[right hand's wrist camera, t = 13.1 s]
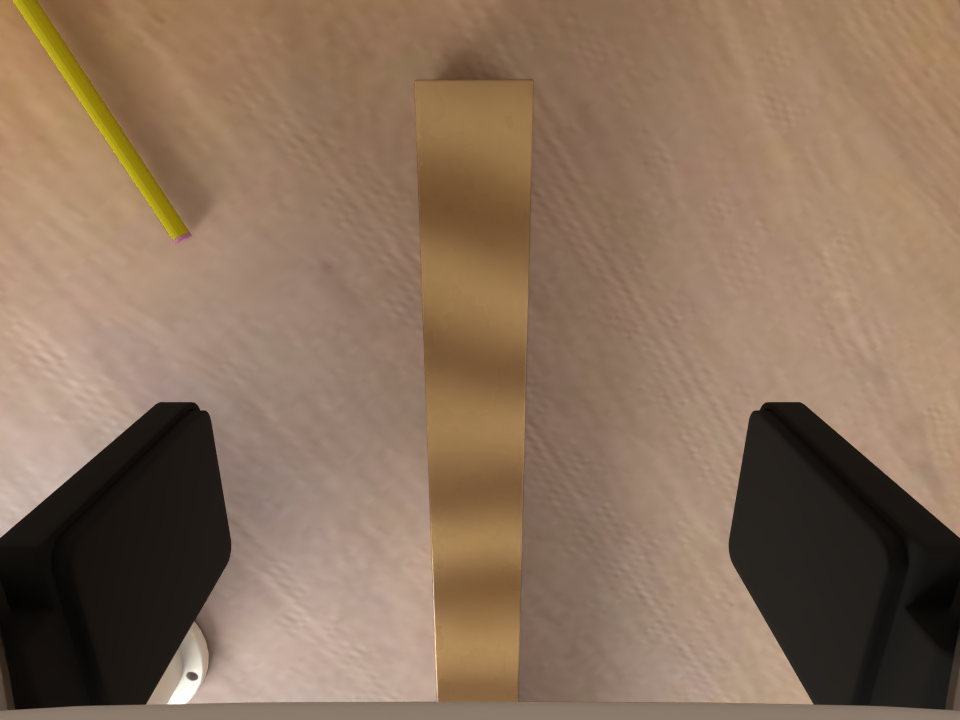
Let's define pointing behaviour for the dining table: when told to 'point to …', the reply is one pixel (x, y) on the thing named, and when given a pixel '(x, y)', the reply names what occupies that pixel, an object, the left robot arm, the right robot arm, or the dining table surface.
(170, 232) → the pencil
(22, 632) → the right robot arm
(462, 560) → the bar
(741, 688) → the dining table surface
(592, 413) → the dining table surface
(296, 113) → the dining table surface
